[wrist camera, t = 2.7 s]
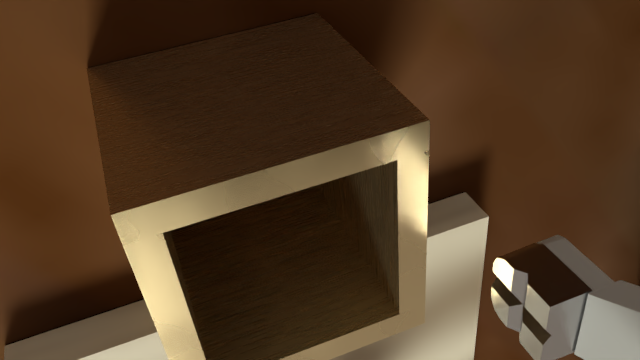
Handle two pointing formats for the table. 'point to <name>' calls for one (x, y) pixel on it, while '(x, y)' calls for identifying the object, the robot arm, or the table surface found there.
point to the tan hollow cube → (266, 193)
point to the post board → (382, 356)
